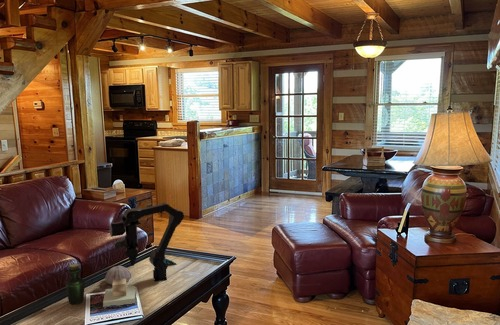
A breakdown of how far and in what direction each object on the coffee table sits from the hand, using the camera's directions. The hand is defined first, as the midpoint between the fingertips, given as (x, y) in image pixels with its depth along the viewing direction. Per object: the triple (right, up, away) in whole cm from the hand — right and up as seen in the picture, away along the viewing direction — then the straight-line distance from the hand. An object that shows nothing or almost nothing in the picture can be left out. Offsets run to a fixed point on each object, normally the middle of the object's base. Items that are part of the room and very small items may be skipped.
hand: (132, 262), depth 203 cm
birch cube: (-1, -11, -16) cm, 19 cm away
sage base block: (-1, -14, -16) cm, 21 cm away
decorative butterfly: (+11, -10, +28) cm, 31 cm away
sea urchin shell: (-10, -12, +6) cm, 16 cm away
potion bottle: (-22, -14, -17) cm, 31 cm away
